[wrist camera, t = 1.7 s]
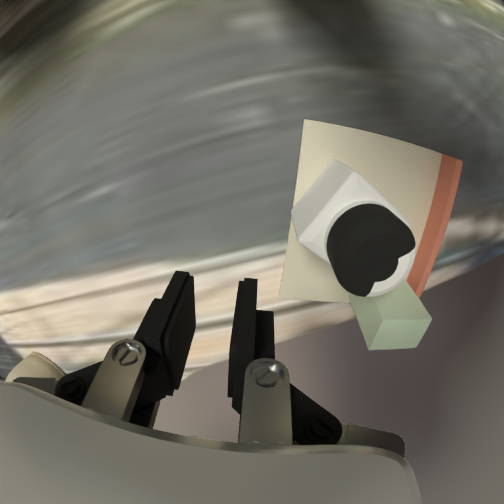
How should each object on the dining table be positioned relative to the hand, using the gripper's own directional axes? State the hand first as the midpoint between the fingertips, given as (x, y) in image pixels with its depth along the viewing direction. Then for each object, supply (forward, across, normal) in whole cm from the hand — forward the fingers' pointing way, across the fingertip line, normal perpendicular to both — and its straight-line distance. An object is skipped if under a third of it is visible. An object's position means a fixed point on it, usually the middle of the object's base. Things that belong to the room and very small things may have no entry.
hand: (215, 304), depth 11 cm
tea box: (+17, -16, +9) cm, 25 cm away
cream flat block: (+17, -14, +2) cm, 22 cm away
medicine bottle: (+17, -10, 0) cm, 20 cm away
